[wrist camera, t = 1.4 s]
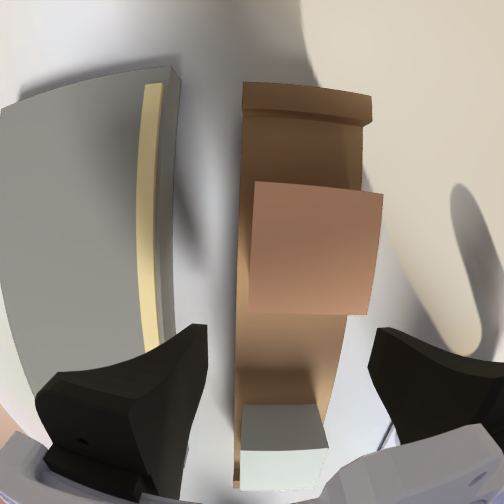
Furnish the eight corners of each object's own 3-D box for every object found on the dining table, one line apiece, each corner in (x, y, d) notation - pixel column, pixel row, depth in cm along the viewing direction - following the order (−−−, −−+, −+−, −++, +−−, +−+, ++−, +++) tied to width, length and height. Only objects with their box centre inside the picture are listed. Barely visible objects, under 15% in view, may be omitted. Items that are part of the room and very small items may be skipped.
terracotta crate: (350, 192, 10) (383, 194, 7) (340, 284, 11) (366, 314, 8) (255, 184, 10) (254, 181, 7) (250, 279, 11) (247, 311, 8)
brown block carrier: (247, 117, 13) (243, 81, 8) (335, 125, 13) (371, 96, 8) (237, 433, 17) (233, 488, 12) (300, 434, 17) (308, 487, 12)
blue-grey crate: (316, 403, 12) (329, 447, 9) (306, 447, 13) (314, 488, 10) (243, 404, 12) (240, 450, 9) (242, 448, 13) (239, 490, 10)
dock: (181, 80, 12) (169, 63, 10) (188, 449, 17) (183, 471, 15) (20, 113, 12) (-2, 108, 10) (59, 415, 17) (47, 430, 15)
